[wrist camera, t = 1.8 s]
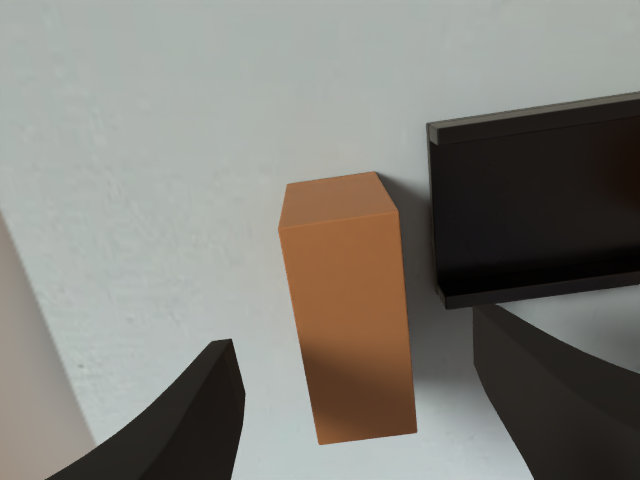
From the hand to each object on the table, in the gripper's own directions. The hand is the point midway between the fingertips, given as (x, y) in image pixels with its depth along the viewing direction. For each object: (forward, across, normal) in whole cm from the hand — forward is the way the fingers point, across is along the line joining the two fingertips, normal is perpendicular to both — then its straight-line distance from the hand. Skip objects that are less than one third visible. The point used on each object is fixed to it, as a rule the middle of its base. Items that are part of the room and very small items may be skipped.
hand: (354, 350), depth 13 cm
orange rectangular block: (+6, 0, 0) cm, 6 cm away
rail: (+6, -12, -2) cm, 14 cm away
